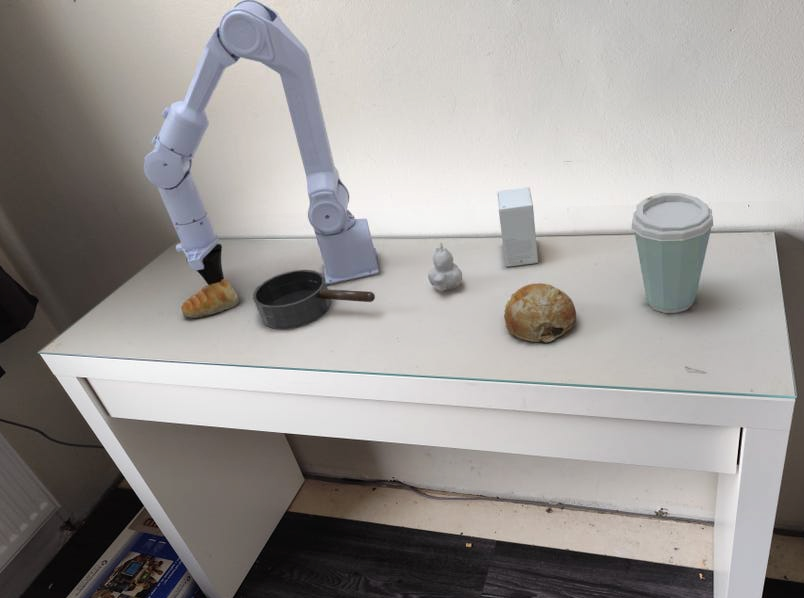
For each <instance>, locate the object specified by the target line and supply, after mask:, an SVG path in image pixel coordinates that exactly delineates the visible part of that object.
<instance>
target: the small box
mask: <svg viewBox="0 0 804 598" xmlns="http://www.w3.org/2000/svg"><path fill="white" fill-rule="evenodd" d="M496 194H497V201H498V215H499V216H498V217H499V223H500V225H499V226H500V233H501V241H502V249H503V257H504V264H505V267H506V268H509V267H516V266H525V265H533V264H538V263H539V255H538V246H537V245H538V244H537V234H536V224H535V223H536V222H535V213H534V212H535V211H534V203H533V198H532V193H531V188H530V187H527V186H526V187H521V188H520V187H519V188H513V189H505V190H504V189H503V190H498V191H497V192H496Z"/></svg>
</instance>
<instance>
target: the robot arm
mask: <svg viewBox="0 0 804 598" xmlns="http://www.w3.org/2000/svg"><path fill="white" fill-rule="evenodd" d="M241 58H242V59H245V60H249V61H255V62H258V63H261V64H262V65H264V66H266V67H268V68H269V69H271V70H272V71H274V72H275V73H277V74H279V76H280V80H281V85H282V87H283V91H284V95H285V99H286V103H287V107H288V110H289V114H290V118H291V123H292V127H293V130H294V135H295V137H296V142H297V146H298V150H299V154H300V157H301V162H302V166H303V170H304V173H305V176H306V177H305V178H306V189H307V196H308V200H309V206H308V210H307V219H308V222H309V224H310V225H311V227H312V228H313V231H314V234H315V239H316V241H317V245H318V248H319V253H320V255H321V258H322V261H323V269H324V277H325V280H326V283H327V286H328V285H332V284H333V285H334V284H336V283H341V282H346V281H350V280H356V279H360V278H364V277H369V276H374V275H378V274H379V272H380V271H379V266H378V260H377V259H378V258H379V257H378V252H377V249H376V247H374V242H373V238H372V234H371V230H370V226H369V222H368V219H367V218H355V215H353V213H352V212H351V211H350V210H349V209H348V205H349V202H350V192H349V190H348V188H347V187H346V185H345V184H344V183H343V182H342V179H341V177H340V174H339V170H338V168H337V167H336V166H335V161H334V158H333V153H332V149H331V145H330V140H329V136H328V131H327V127H326V123H325V119H324V114H323V110H322V104H321V101H320V96H319V93H318V88H317V84H316V83H317V82H316V79H315V75H314V70H313V66H312V63H311V58H310V54H309V51H308V49H307V48H306V46H305V45H304V44H303V43H302V42H301V41H300V40H299V38H298V37H297V36H296V35H295V33H293V31H291V29H290V28H289V27H288V26H287V25H286V24H285V23H284V21H283V19H282V18H281V16H280V15H279V13H278V12H277V11H276V10H275V9H272V8H271V7H269V6H267V5H265V4H264V3H262V2H260V1H258V0H241V1H239V2H237V4H236V5H234V7H233V8H232V9H229V10H227V11H226V12H225V13H224V14H223V15H222V17H221V19H220V21H219V26H217V27H216V28H215V30H214V31H213V32H212V34H211V35H210V37H209V39H208V41H207V43H206V44H205V46H204V48H203V51H202V53H201V56H200V58H199V61H198V64H197V66H196V69H195V71H194V74H193V76H192V79H191V81H190V84H189V87H188V89H187V91H186V94H185V96H184V99H182V100H179V101H174V102H172V103H171V105H170V107H169V106H166V107H165V108H164V110H163V111H162V114H161V117H162V118H164V121H163V123H162V125H161V128H160V130H159V132H158V134H157V135H155V136H153V138H152V140H151V145H153V146H154V149H153V150H152V151H150V152H149V153H148V154H146V155H145V157H144V163H143V172H144V175H145V177H146V178H147V180H148V181H149V182H150V183H151V184H153V185H154V186H156V187H157V190H158V192H159V194H160V197H161V200H162V202H163V205H164V207H165V209H166V211H167V214H168V216H169V218H170V221H171V223H172V225H173V227H174V230H175V232H176V234H177V237H178V239H179V241H180V242H179V243H177V244H176V245H175V250H176V252H178V253H179V252H180V253H181V252H183V253H184V255H185V257H186V259H185V261H186V263H187V264H188V266H189V269H190V271H191V272H194V271H195V272H197V273H198V274H199V275H200V276H201V277H202V279H203V280H204V281H205V282H206V284H207V286H208V285H211V284H214V283H218V282H221V280H222V279H225V277H224V271H223V266H222V250H223V245H222V244H221V243H219V242H220V239H219V237H218V235H217V233H216V232H215V230H214V227H213V225H212V222H211V219H210V217H209V215H208V212H207V210H206V206H205V205H204V202H203V200H202V197H201V194H200V191H199V189H198V187H197V185H196V183H195V179H194V177H193V175H192V172H191V169H192V165H193V159H194V157H195V155H196V153H197V150H198V148H199V146H200V145H201V142H202V140H203V138H204V136H205V133H206V131H207V129H208V127H209V125H210V121H209V118H208V115H207V113H206V109H207V107H208V105H209V103H210V101H211V99H212V97H213V95H214V93H215V91H216V89H217V87H218V85H219V83H220V81H221V79H222V77H223V75H224V74H225V71H226V69H227V68H229V67H231V66H232V65H235V64H236V63H238V61H240V59H241Z"/></svg>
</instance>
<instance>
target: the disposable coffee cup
mask: <svg viewBox="0 0 804 598" xmlns="http://www.w3.org/2000/svg"><path fill="white" fill-rule="evenodd" d="M630 227H631V230H633V232H634V237H635V242H636V248H637V253H638V259H639V265H640V271H641V276H642V281H643V287H644V293H645V299H646V302H648V305H649V307H651V308H652V309H653V311H656V312H660V313H662V314H678V313H682V312H685V311H687V310H688V309H689V308H691V307H692V305H693V304H694V302H695V301H696V297H697V294H698V293H697V292H698V288H699V284H700V280H701V276H702V272H703V271H702V270H703V267H704V262H705V257H706V253H707V249H708V245H709V239H710V235H711V232H712V228H713V227H714V216H713V210H712V208H710V207H709V205H708V204H707V203H705V201H702V200H701V199H700V198H699V197H697V196H693V195H689V194H685V193H681V192H680V193H679V192H662V193H658V194H653V195H651V196H649V197H646V198H644V199H643V200H641V201H640V202H639V203H638V204H636V207H635V211H634V212H633V215H632V219H631V226H630Z"/></svg>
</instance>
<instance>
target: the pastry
mask: <svg viewBox="0 0 804 598" xmlns="http://www.w3.org/2000/svg"><path fill="white" fill-rule="evenodd" d="M239 300H240V298H239V296H238V294H237V292H236V291H235V289H234V288H233V287H232V285H231V283H230V281H229V280H228V279H225V278H224V279H222V280H221V282H218V283H214V284H211V285H208V284H207V285H205V286H204V287H202V288H201V289H200V290H199V291H197V292H196V293H195V294H192V295H190V297H189V298H188V299H186V300H185V301H184V302H183V303H182V305H181V313H182V315H183V316H184V317H187V318H191V319H197V318H203V317H207V316H211V315H214V314H218V313H221V312H224V310H230V309H232V308H234V307H236V306H237V305H238V304H239Z"/></svg>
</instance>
